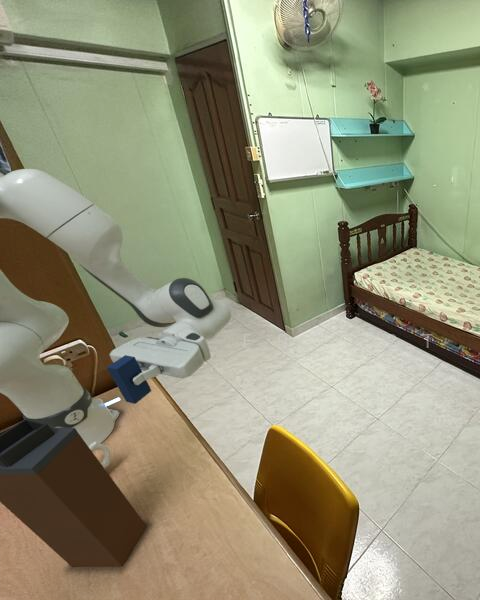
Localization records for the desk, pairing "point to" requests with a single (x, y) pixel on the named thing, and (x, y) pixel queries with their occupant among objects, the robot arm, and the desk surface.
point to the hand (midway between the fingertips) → (125, 380)
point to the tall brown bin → (66, 495)
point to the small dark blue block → (121, 376)
